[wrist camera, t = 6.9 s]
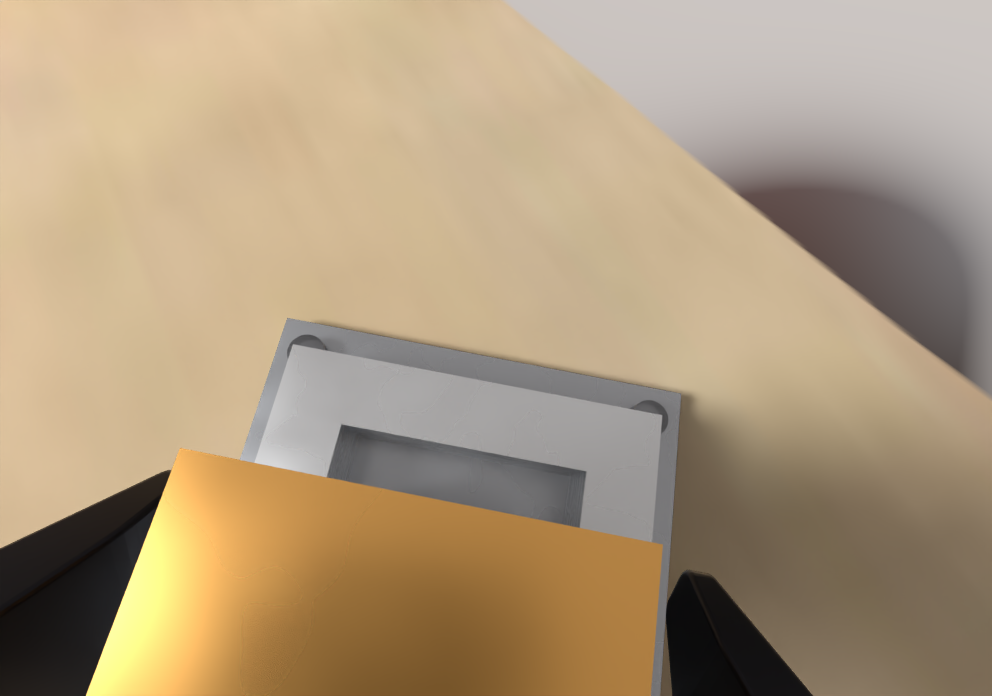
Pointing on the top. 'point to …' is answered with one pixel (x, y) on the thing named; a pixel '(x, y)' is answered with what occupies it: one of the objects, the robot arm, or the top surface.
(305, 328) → the metal post socket
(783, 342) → the top surface
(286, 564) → the orange and grey post
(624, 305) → the top surface
